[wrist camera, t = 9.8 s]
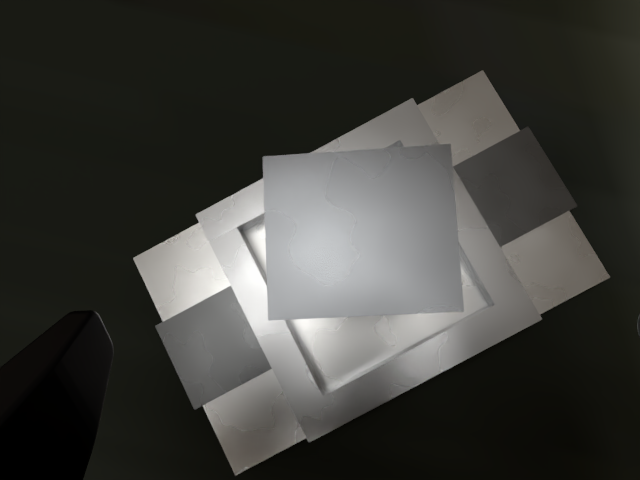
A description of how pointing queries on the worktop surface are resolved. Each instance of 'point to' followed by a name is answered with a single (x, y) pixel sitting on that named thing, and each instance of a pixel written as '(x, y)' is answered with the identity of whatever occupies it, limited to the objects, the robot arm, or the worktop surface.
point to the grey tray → (367, 331)
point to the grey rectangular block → (361, 233)
